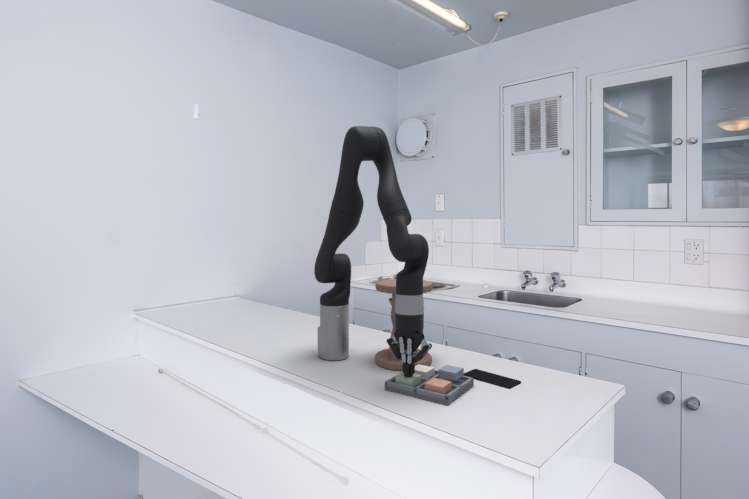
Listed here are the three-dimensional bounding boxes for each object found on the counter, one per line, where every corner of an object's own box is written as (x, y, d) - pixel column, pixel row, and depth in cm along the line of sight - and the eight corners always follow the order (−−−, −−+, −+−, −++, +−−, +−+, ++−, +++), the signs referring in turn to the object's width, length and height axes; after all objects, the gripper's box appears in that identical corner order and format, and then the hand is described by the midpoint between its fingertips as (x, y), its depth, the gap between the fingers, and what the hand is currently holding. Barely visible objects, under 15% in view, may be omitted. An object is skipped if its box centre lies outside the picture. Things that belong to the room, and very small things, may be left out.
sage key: (395, 384, 123) (395, 376, 123) (405, 378, 127) (405, 371, 127) (412, 388, 120) (412, 380, 120) (421, 382, 124) (421, 375, 124)
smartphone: (509, 387, 124) (461, 374, 134) (509, 390, 124) (461, 376, 134) (522, 381, 128) (475, 368, 139) (522, 384, 129) (474, 371, 139)
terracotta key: (424, 391, 118) (424, 383, 118) (433, 385, 122) (433, 377, 122) (442, 395, 115) (442, 387, 115) (451, 389, 119) (451, 381, 119)
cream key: (409, 376, 129) (409, 368, 129) (418, 371, 133) (418, 364, 133) (426, 379, 126) (426, 372, 126) (434, 374, 130) (434, 367, 130)
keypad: (384, 389, 123) (384, 381, 123) (414, 373, 136) (414, 365, 136) (447, 405, 113) (447, 396, 112) (473, 385, 126) (473, 377, 126)
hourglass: (411, 375, 134) (412, 288, 132) (363, 363, 144) (364, 283, 143) (441, 360, 148) (443, 281, 146) (396, 350, 158) (396, 277, 157)
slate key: (438, 377, 124) (438, 369, 124) (446, 371, 128) (446, 364, 128) (455, 380, 121) (455, 373, 121) (463, 375, 125) (463, 368, 125)
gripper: (380, 310, 123) (379, 375, 124) (424, 316, 115) (424, 385, 116) (395, 305, 129) (394, 367, 130) (438, 311, 121) (437, 377, 122)
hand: (408, 376), depth 123 cm, fingers closed
